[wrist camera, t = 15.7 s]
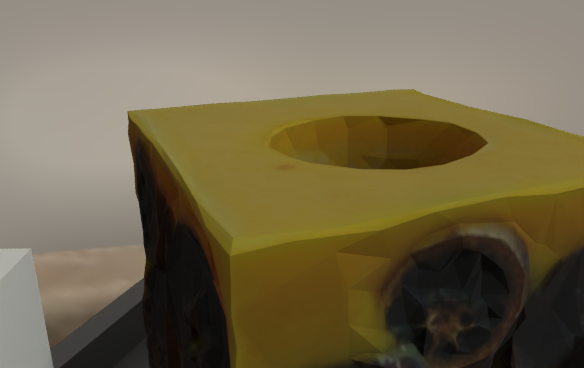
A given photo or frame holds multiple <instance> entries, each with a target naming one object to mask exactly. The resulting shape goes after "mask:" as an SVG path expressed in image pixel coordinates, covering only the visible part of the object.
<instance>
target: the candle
mask: <svg viewBox="0 0 584 368" xmlns="http://www.w3.org/2000/svg"><path fill="white" fill-rule="evenodd" d="M128 120H129V125H128V135H129V141H130V146H131V152H132V156H133V162H134V172H135V189H136V195H137V198H138V201H139V207H140V214H141V221H142V228H143V237H144V248H145V253H146V265H145V273H144V293H143V298H142V309H143V318H144V327H145V332H146V334H147V348H148V360H149V366H150V368H584V137H583V136H579V135H575V134H572V133H568V132H565V131H561V130H558V129H555V128H552V127H548V126H545V125H542V124H539V123H535V122H532V121H529V120H526V119H522V118H517V117H512V116H508V115H503V114H499V113H495V112H490V111H486V110H481V109H476V108H472V107H467V106H464V105H461V104H457V103H454V102H450V101H447V100H443V99H439V98H436V97H432V96H429V95H425V94H422V93H420V92H418V91H416V90H413V89H412V90H387V91H376V92H364V93H350V94H332V95H317V96H307V97H297V98H288V99H287V98H286V99H275V100H263V101H252V102H233V103H217V104H203V105H193V106H182V107H171V108H161V109H148V110H135V111H128Z"/></svg>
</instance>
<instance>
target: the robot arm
mask: <svg viewBox="0 0 584 368" xmlns="http://www.w3.org/2000/svg"><path fill="white" fill-rule="evenodd" d="M0 368H54V367H53V362H52V357H51V351H50V346H49V341H48V335H47V330H46V325H45V319H44V314H43V309H42V304H41V298H40V293H39V288H38V282H37V277H36V272H35V266H34V261H33V256H32V250H31V249H30V248H28V249H0Z"/></svg>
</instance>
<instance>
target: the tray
mask: <svg viewBox="0 0 584 368" xmlns="http://www.w3.org/2000/svg"><path fill="white" fill-rule="evenodd" d="M143 293H144V278H143V279H142V280H140V281H139V282H138V283H136V284H135V285H134V286H133V287H131V288H130V289H129V290H127V291H126V292H125V293H124V294H122V295H121V296H120V297H118V298H117V299H116V300H114V301H113V302H112V303H111V304H109V305H108V306H107V307H105V308H104V309H103V310H101V311H100V312H99V313H98V314H96V315H95V316H94V317H92V318H91V319H90V320H88V321H87V322H86V323H85V324H83V325H82V326H81V327H79V328H78V329H77V330H75V331H74V332H73V333H72V334H70V335H69V336H68V337H66V338H65V339H64V340H62V341H61V342H60V343H59V344H57V345H56V346H55V347H53V348H52V349H51V350H50V351H51V357H52V362H53V367H54V368H150V366H149V360H148V348H147V334H146V332H145V327H144V318H143V309H142V298H143Z"/></svg>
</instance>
